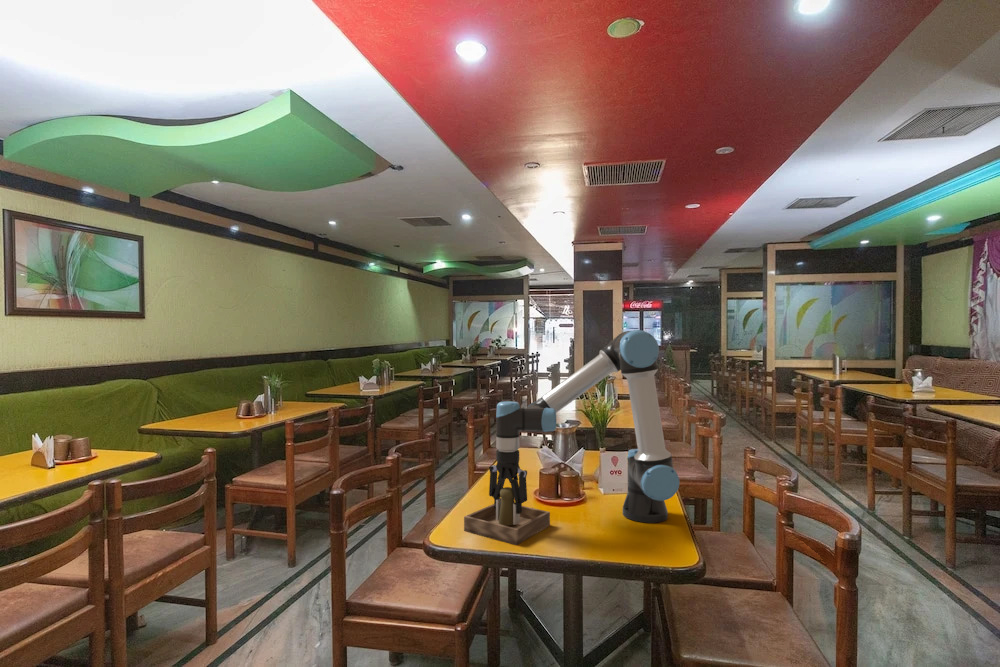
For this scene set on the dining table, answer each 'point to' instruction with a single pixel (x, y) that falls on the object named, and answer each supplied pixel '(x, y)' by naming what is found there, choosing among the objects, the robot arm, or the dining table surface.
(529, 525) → the tray
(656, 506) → the robot arm
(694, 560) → the dining table surface
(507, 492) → the olive pepper mill
